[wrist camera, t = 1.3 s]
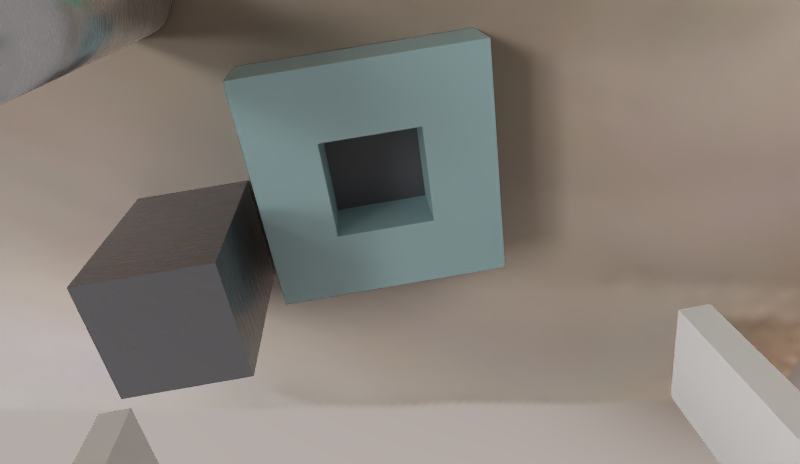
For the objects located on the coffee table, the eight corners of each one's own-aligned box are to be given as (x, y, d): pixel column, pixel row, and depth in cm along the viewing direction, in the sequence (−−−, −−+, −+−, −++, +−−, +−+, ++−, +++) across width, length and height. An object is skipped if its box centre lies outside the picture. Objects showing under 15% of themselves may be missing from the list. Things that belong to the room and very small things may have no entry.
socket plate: (291, 271, 33) (285, 304, 30) (235, 66, 28) (222, 81, 25) (489, 237, 34) (505, 267, 31) (473, 27, 28) (490, 37, 25)
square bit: (173, 290, 33) (121, 398, 25) (138, 198, 31) (66, 287, 23) (274, 273, 34) (253, 376, 26) (247, 180, 31) (215, 262, 23)
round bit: (99, 44, 27) (-108, 128, 15) (65, -49, 25) (-205, -43, 13) (182, 30, 27) (48, 102, 15) (154, -63, 25) (-27, -72, 13)
